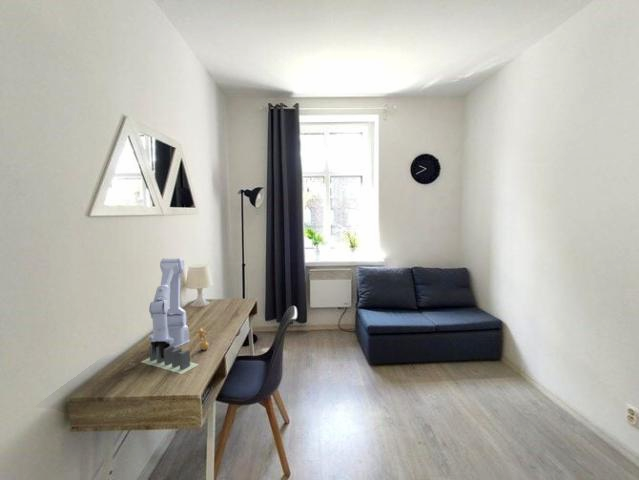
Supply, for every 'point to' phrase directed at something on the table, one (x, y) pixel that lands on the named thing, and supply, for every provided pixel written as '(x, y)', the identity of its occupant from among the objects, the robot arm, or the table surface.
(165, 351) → the tile
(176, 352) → the dark grey block
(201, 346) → the figurine
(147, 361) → the felt strip
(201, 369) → the table surface
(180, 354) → the tile
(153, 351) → the tile
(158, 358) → the tile
